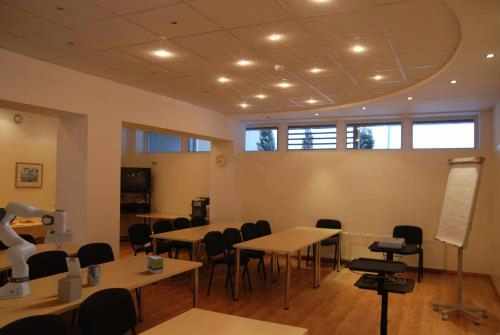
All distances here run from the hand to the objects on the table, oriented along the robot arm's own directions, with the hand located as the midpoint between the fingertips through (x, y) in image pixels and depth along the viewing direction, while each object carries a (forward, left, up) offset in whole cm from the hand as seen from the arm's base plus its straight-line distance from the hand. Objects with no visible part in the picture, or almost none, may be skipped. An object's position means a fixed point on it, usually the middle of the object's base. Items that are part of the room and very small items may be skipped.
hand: (59, 248), depth 300 cm
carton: (+5, -14, -37) cm, 40 cm away
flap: (+8, -12, -13) cm, 20 cm away
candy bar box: (+13, +3, -37) cm, 40 cm away
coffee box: (+33, +17, -37) cm, 53 cm away
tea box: (+96, +27, -37) cm, 107 cm away
